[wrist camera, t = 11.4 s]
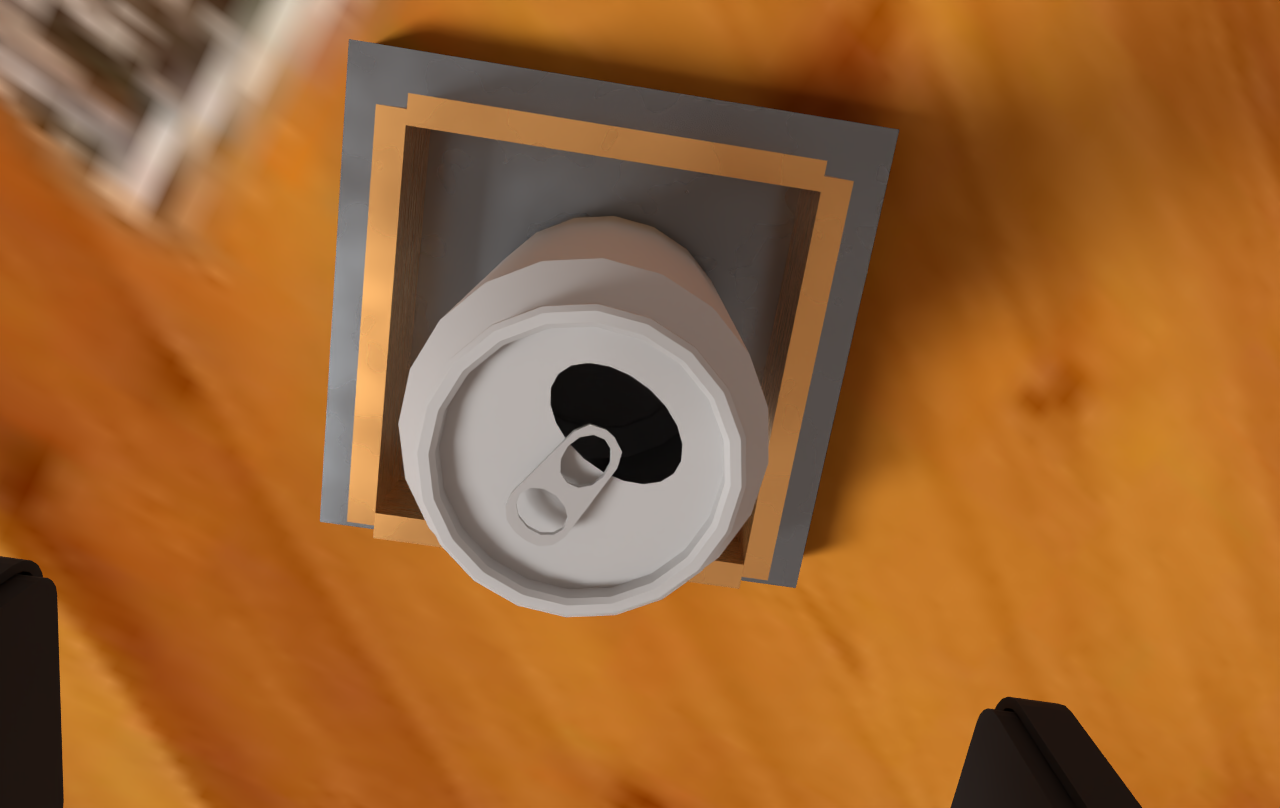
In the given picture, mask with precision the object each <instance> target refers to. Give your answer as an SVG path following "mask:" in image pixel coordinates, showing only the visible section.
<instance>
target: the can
mask: <svg viewBox="0 0 1280 808" xmlns="http://www.w3.org/2000/svg"><path fill="white" fill-rule="evenodd" d="M398 425H399V433H400V441H401V449H402V457H403V465H404V473H405V479H406V481H407V483H408V485H409V488H410V490H411V492H412V494H413V496H414V498H415V500H416V502H417V504H418V506H419V508H420V510H421V513H422V515H423V517H424V519H425V521H426V523H427V525H428V527H429V529H430V530H431V531H432V532H433V533H434V534H435V535H436V537H437V539H438V541H439V543H440V545H441V546H442V547H443V548H444V549H445V550H446V551H447V552H448V553H449V555H450V556H451V557H452V558H453V559H454V560H455V561H456V562H457V563H458V564H459V565H460V566H461V567H462V568H463V569H464V570H465V572H466V573H467V574H468V575H469V576H470V577H471V578H472V579H473V580H474V581H476V582H477V583H479V584H481V585H483V586H484V587H486V588H488V589H490V590H491V591H493V592H495V593H497V594H498V595H500V596H502V597H504V598H505V599H507V600H509V601H510V602H512V603H514V604H516V605H518V606H522V607H526V608H530V609H534V610H538V611H543V612H547V613H551V614H555V615H559V616H563V617H581V616H604V615H617V614H620V613H623V612H626V611H629V610H632V609H635V608H638V607H641V606H644V605H647V604H650V603H653V602H655V601H658V600H661V599H663V598H665V597H666V596H667V595H669V594H670V593H672V592H673V591H674V590H676V589H677V588H679V587H680V586H681V585H683V584H684V583H686V582H687V581H688V580H690V579H691V578H693V577H694V576H695V575H697V574H698V573H700V572H701V571H702V570H703V569H704V568H705V567H706V566H708V565H709V564H710V563H712V562H713V561H715V560H716V559H717V558H719V557H720V555H721V554H722V553H723V551H724V550H725V549H726V547H727V546H728V545H729V543H730V542H731V541H732V539H733V538H734V537H735V535H736V534H737V533H738V531H739V530H740V529H741V527H742V526H743V525H744V523H745V522H746V521H747V519H748V518H749V517H750V515H751V513H752V510H753V507H754V504H755V501H756V499H757V496H758V493H759V490H760V487H761V484H762V481H763V478H764V475H765V472H766V469H767V466H768V406H767V403H766V400H765V397H764V394H763V391H762V389H761V386H760V383H759V380H758V377H757V374H756V371H755V369H754V366H753V363H752V360H751V357H750V354H749V352H748V350H747V348H746V347H745V345H744V343H743V341H742V339H741V337H740V335H739V333H738V331H737V329H736V327H735V325H734V323H733V322H732V320H731V318H730V316H729V314H728V312H727V310H726V308H725V306H724V304H723V302H722V300H721V298H720V297H719V295H718V293H717V291H716V289H715V287H714V285H713V283H712V281H711V280H710V278H709V277H708V276H707V275H706V273H705V272H704V271H703V269H702V268H701V267H700V266H699V264H698V263H697V262H696V260H695V259H694V258H693V257H692V255H691V254H690V253H689V251H688V250H687V249H686V248H684V247H683V246H681V245H680V244H678V243H677V242H675V241H674V240H672V239H671V238H669V237H668V236H666V235H665V234H663V233H662V232H660V231H659V230H657V229H656V228H654V227H652V226H648V225H645V224H641V223H638V222H634V221H631V220H627V219H623V218H620V217H616V216H604V217H582V218H572V219H570V220H567V221H565V222H562V223H559V224H557V225H554V226H552V227H549V228H546V229H544V230H541V231H539V232H536V233H535V234H534V235H533V236H532V237H530V238H529V239H528V240H527V241H525V242H524V243H523V244H522V245H521V246H519V247H518V248H517V249H516V250H515V251H513V252H512V253H511V254H510V255H509V256H507V257H506V258H505V259H504V260H503V261H502V262H501V263H500V264H499V265H498V266H497V267H496V268H495V269H493V270H492V271H491V272H490V273H489V274H488V275H487V276H486V277H485V278H484V279H483V280H482V281H481V282H480V283H479V284H478V285H476V286H475V287H474V288H473V289H472V290H471V291H470V292H469V293H468V294H467V295H466V296H465V297H464V298H463V299H462V300H461V301H460V302H458V303H457V304H456V305H455V306H454V307H453V308H452V309H451V310H450V311H449V312H448V313H447V314H446V315H445V316H444V317H443V318H442V319H440V321H439V322H438V324H437V325H436V327H435V329H434V330H433V332H432V334H431V335H430V337H429V339H428V340H427V342H426V344H425V345H424V347H423V349H422V350H421V352H420V353H419V355H418V357H417V358H416V360H415V362H414V363H413V365H412V367H411V368H410V371H409V376H408V381H407V385H406V390H405V395H404V400H403V404H402V409H401V414H400V419H399V423H398Z"/></svg>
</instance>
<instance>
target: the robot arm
mask: <svg viewBox="0 0 1280 808" xmlns="http://www.w3.org/2000/svg"><path fill="white" fill-rule="evenodd" d="M63 801H64V799H63V767H62V735H61V704H60V672H59V640H58V609H57V591H56V586H55V585H54V583H53V581H52V580H50V579H49V578H43V575H42V572H41V570H40V568H39V566H38V565H37V564H36V563H34V562H33V561H30V560H23V559H16V558H9V557H2V556H0V808H63ZM951 808H1142V807H1141V805H1140V804H1139V803H1138V801H1137V800H1136V799H1135V797H1134V796H1133V795H1132V793H1131V792H1130V791H1129V789H1128V788H1127V787H1126V785H1125V784H1124V782H1123V781H1122V780H1121V778H1120V777H1119V776H1118V774H1117V773H1116V772H1115V770H1114V769H1113V768H1112V766H1111V765H1110V764H1109V762H1108V761H1107V759H1106V758H1105V757H1104V755H1103V754H1102V753H1101V751H1100V750H1099V749H1098V747H1097V746H1096V745H1095V743H1094V742H1093V741H1092V739H1091V738H1090V736H1089V735H1088V734H1087V732H1086V731H1085V730H1084V728H1083V727H1082V726H1081V724H1080V723H1079V722H1078V720H1077V719H1076V718H1075V716H1074V715H1073V713H1072V712H1071V711H1070V710H1069V709H1068V708H1067V707H1066V706H1064V705H1061V704H1056V703H1049V702H1042V701H1035V700H1028V699H1021V698H1013V697H1006V698H1003V699H1002V700H1001V701H1000V702H999V703H998V704H997V706H996V708H995V709H985V710H983V712H982V713H981V714H980V716H979V718H978V721H977V723H976V727H975V730H974V733H973V736H972V740H971V743H970V746H969V750H968V753H967V756H966V759H965V763H964V766H963V769H962V773H961V776H960V779H959V782H958V786H957V789H956V792H955V795H954V799H953V802H952V805H951Z"/></svg>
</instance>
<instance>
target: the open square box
mask: <svg viewBox="0 0 1280 808" xmlns="http://www.w3.org/2000/svg"><path fill="white" fill-rule="evenodd" d="M898 133H899V130H898V129H892V128H886V127H880V126H874V125H868V124H862V123H856V122H850V121H844V120H837V119H831V118H825V117H819V116H813V115H807V114H801V113H795V112H789V111H783V110H777V109H771V108H764V107H758V106H752V105H746V104H740V103H734V102H728V101H722V100H716V99H710V98H704V97H698V96H691V95H685V94H679V93H673V92H667V91H661V90H655V89H649V88H643V87H637V86H631V85H625V84H618V83H612V82H606V81H600V80H594V79H588V78H582V77H576V76H570V75H564V74H558V73H552V72H545V71H539V70H533V69H527V68H521V67H515V66H509V65H503V64H497V63H491V62H485V61H479V60H472V59H466V58H460V57H454V56H448V55H442V54H436V53H430V52H424V51H418V50H412V49H406V48H399V47H393V46H387V45H381V44H375V43H369V42H363V41H357V40H351V39H349V47H348V64H347V81H346V97H345V114H344V130H343V147H342V164H341V180H340V197H339V214H338V230H337V247H336V264H335V280H334V297H333V314H332V330H331V347H330V364H329V380H328V397H327V414H326V430H325V447H324V464H323V480H322V497H321V514H320V522H327V523H334V524H341V525H348V526H355V527H363V528H370V529H374V534H373V538H378V539H385V540H393V541H400V542H407V543H414V544H421V545H429V546H436V547H442V546H441V545H440V543H439V541H438V539H437V537H436V535H435V534H434V533H433V532H432V531H431V530H430V529H429V527H428V525H427V523H426V521H425V519H424V517H423V515H422V513H421V510H420V508H419V506H418V504H417V502H416V500H415V498H414V496H413V494H412V492H411V490H410V488H409V485H408V483H407V481H406V479H405V473H404V465H403V457H402V449H401V441H400V433H399V425H398V423H399V419H400V414H401V409H402V404H403V400H404V395H405V390H406V385H407V381H408V376H409V371H410V368H411V367H412V365H413V363H414V362H415V360H416V358H417V357H418V355H419V353H420V352H421V350H422V349H423V347H424V345H425V344H426V342H427V340H428V339H429V337H430V335H431V334H432V332H433V330H434V329H435V327H436V325H437V324H438V322H439V321H440V319H442V318H443V317H444V316H445V315H446V314H447V313H448V312H449V311H450V310H451V309H452V308H453V307H454V306H455V305H456V304H457V303H458V302H460V301H461V300H462V299H463V298H464V297H465V296H466V295H467V294H468V293H469V292H470V291H471V290H472V289H473V288H474V287H475V286H476V285H478V284H479V283H480V282H481V281H482V280H483V279H484V278H485V277H486V276H487V275H488V274H489V273H490V272H491V271H492V270H493V269H495V268H496V267H497V266H498V265H499V264H500V263H501V262H502V261H503V260H504V259H505V258H506V257H507V256H509V255H510V254H511V253H512V252H513V251H515V250H516V249H517V248H518V247H519V246H521V245H522V244H523V243H524V242H525V241H527V240H528V239H529V238H530V237H532V236H533V235H534V234H535V233H536V232H539V231H541V230H544V229H546V228H549V227H552V226H554V225H557V224H559V223H562V222H565V221H567V220H570V219H572V218H582V217H604V216H616V217H620V218H623V219H627V220H631V221H634V222H638V223H641V224H645V225H648V226H652V227H654V228H656V229H657V230H659V231H660V232H662V233H663V234H665V235H666V236H668V237H669V238H671V239H672V240H674V241H675V242H677V243H678V244H680V245H681V246H683V247H684V248H686V249H687V250H688V251H689V253H690V254H691V255H692V257H693V258H694V259H695V260H696V262H697V263H698V264H699V266H700V267H701V268H702V269H703V271H704V272H705V273H706V275H707V276H708V277H709V278H710V280H711V281H712V283H713V285H714V287H715V289H716V291H717V293H718V295H719V297H720V298H721V300H722V302H723V304H724V306H725V308H726V310H727V312H728V314H729V316H730V318H731V320H732V322H733V323H734V325H735V327H736V329H737V331H738V333H739V335H740V337H741V339H742V341H743V343H744V345H745V347H746V348H747V350H748V352H749V354H750V357H751V360H752V363H753V366H754V369H755V371H756V374H757V377H758V380H759V383H760V386H761V389H762V391H763V394H764V397H765V400H766V403H767V406H768V466H767V469H766V472H765V475H764V478H763V481H762V484H761V487H760V490H759V493H758V496H757V499H756V501H755V504H754V507H753V510H752V513H751V515H750V517H749V518H748V519H747V521H746V522H745V523H744V525H743V526H742V527H741V529H740V530H739V531H738V533H737V534H736V535H735V537H734V538H733V539H732V541H731V542H730V543H729V545H728V546H727V547H726V549H725V550H724V551H723V553H722V554H721V555H720V557H719V558H717V559H716V560H715V561H713V562H712V563H710V564H709V565H708V566H706V567H705V568H704V569H703V570H702V571H701V572H700V573H698V574H697V575H695V576H694V577H693V578H691V579H690V580H688V582H695V583H702V584H709V585H716V586H724V587H731V588H738V589H739V587H740V582H741V580H743V581H750V582H757V583H764V584H771V585H778V586H786V587H793V588H796V584H797V580H798V575H799V571H800V567H801V562H802V558H803V553H804V549H805V545H806V540H807V536H808V531H809V527H810V522H811V518H812V514H813V509H814V505H815V500H816V496H817V491H818V487H819V483H820V478H821V474H822V469H823V465H824V460H825V456H826V452H827V447H828V443H829V438H830V434H831V429H832V425H833V421H834V416H835V412H836V407H837V403H838V399H839V394H840V390H841V385H842V381H843V376H844V372H845V368H846V363H847V359H848V354H849V350H850V345H851V341H852V337H853V332H854V328H855V323H856V319H857V314H858V310H859V306H860V301H861V297H862V292H863V288H864V283H865V279H866V275H867V270H868V266H869V261H870V257H871V253H872V248H873V244H874V239H875V235H876V230H877V226H878V222H879V217H880V213H881V208H882V204H883V199H884V195H885V191H886V186H887V182H888V177H889V173H890V168H891V164H892V160H893V155H894V151H895V146H896V142H897V137H898Z"/></svg>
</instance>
